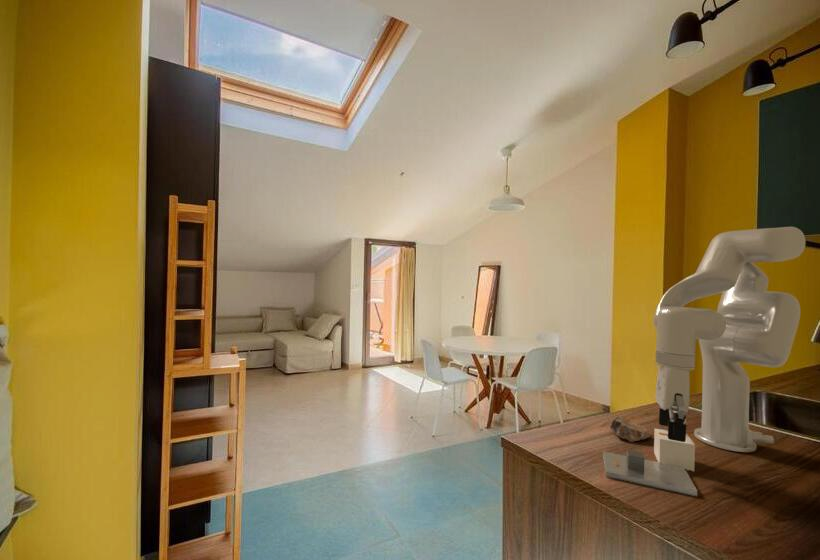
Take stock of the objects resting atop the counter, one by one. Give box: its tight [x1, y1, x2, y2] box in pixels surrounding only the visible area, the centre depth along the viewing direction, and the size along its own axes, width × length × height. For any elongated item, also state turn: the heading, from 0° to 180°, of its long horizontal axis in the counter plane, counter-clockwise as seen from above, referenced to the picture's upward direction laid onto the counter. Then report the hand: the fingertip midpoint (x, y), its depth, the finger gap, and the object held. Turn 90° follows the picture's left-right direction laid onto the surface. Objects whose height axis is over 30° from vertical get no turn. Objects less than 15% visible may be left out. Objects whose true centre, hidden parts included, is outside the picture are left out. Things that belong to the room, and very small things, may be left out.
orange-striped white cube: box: [653, 428, 696, 472], centre depth 86 cm, size 7×7×6 cm
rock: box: [610, 415, 652, 443], centre depth 100 cm, size 9×6×10 cm
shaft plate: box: [602, 449, 698, 497], centre depth 80 cm, size 16×10×4 cm, turn 65°
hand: (671, 432), depth 86 cm, fingers open, 9 cm apart
